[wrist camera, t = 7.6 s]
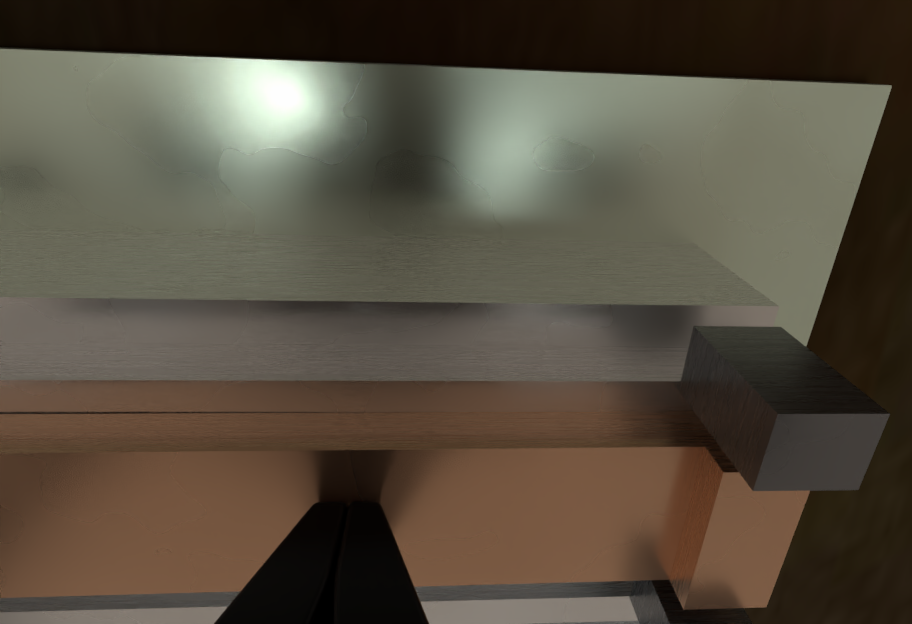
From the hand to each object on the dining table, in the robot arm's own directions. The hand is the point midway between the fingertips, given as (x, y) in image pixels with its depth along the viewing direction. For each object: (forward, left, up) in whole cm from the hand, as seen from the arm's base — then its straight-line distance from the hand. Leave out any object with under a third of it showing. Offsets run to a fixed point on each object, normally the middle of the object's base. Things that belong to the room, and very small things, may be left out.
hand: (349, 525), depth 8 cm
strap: (-2, 0, -1) cm, 2 cm away
